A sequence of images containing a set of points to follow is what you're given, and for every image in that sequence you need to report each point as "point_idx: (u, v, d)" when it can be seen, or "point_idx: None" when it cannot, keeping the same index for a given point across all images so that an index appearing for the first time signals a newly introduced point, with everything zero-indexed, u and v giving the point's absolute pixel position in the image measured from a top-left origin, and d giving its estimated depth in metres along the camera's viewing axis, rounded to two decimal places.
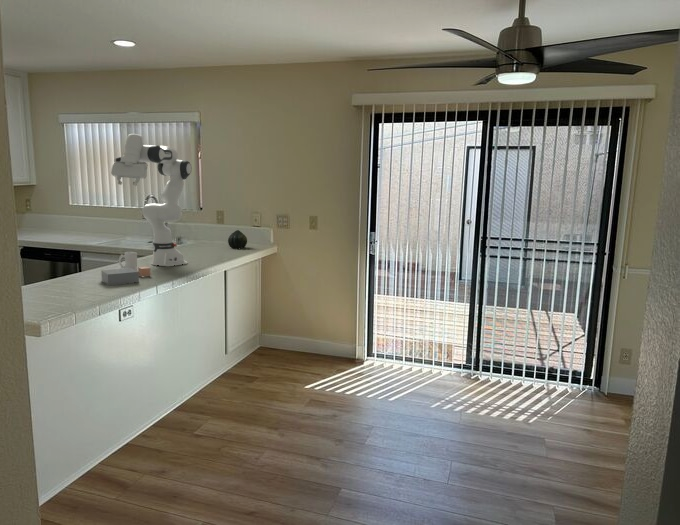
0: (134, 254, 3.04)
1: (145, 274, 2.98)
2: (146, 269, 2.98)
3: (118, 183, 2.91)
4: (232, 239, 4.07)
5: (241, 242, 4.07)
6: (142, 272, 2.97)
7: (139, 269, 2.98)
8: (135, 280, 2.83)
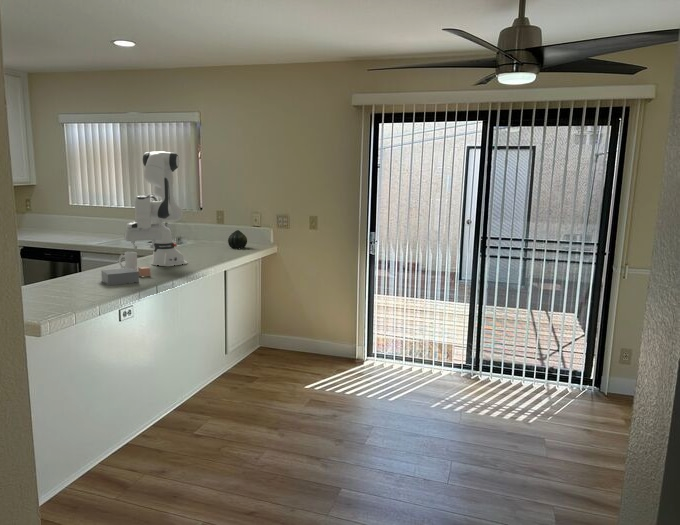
0: (134, 254, 3.04)
1: (145, 274, 2.98)
2: (146, 269, 2.98)
3: (135, 248, 2.93)
4: (232, 239, 4.07)
5: (241, 242, 4.07)
6: (142, 272, 2.97)
7: (139, 269, 2.98)
8: (135, 280, 2.83)
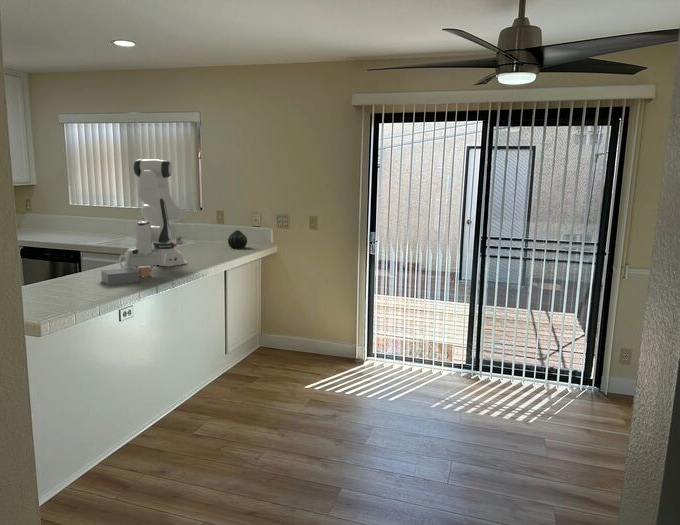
0: None
1: (145, 274, 2.98)
2: (146, 269, 2.98)
3: None
4: (232, 239, 4.07)
5: (241, 242, 4.07)
6: (142, 272, 2.97)
7: (139, 269, 2.98)
8: (135, 280, 2.83)
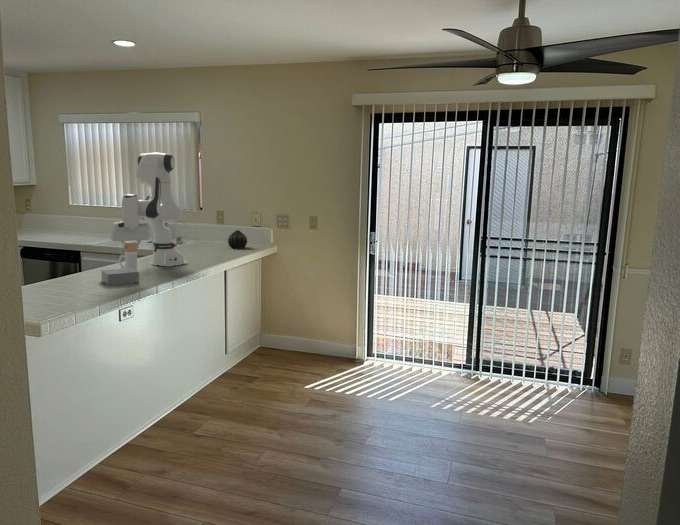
0: (134, 254, 3.04)
1: (131, 249, 2.85)
2: (133, 244, 2.85)
3: (124, 248, 2.84)
4: (232, 239, 4.07)
5: (241, 242, 4.07)
6: (129, 247, 2.84)
7: (125, 244, 2.86)
8: (135, 280, 2.83)
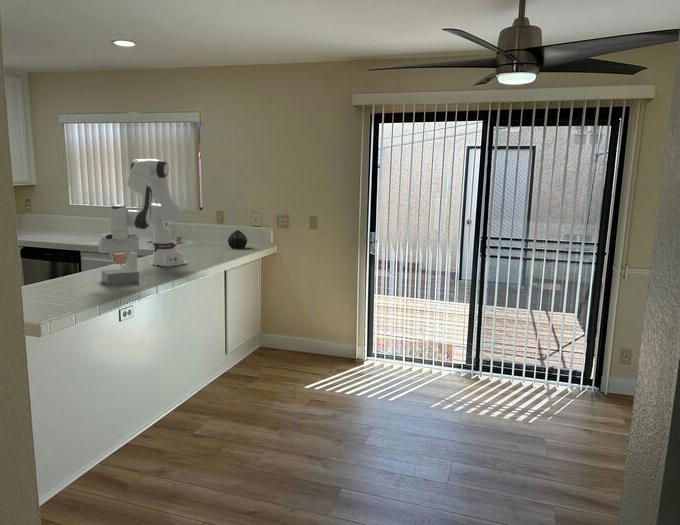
0: (134, 254, 3.04)
1: (120, 261, 2.79)
2: (121, 255, 2.79)
3: (113, 260, 2.78)
4: (232, 239, 4.07)
5: (241, 242, 4.07)
6: (117, 259, 2.78)
7: (114, 255, 2.80)
8: (135, 280, 2.83)
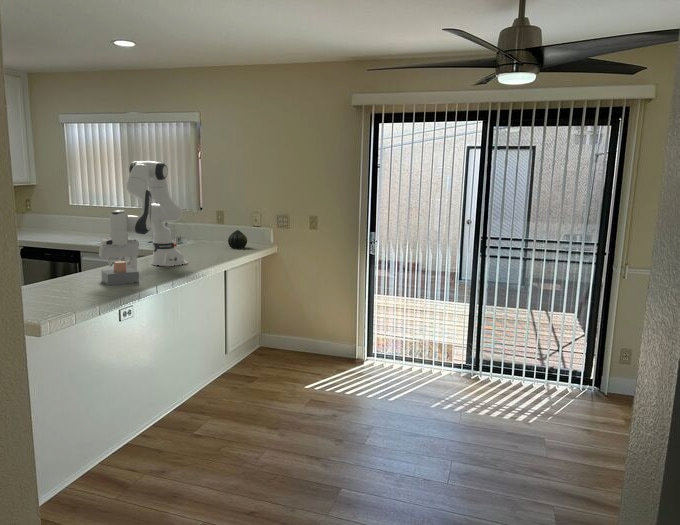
0: None
1: (121, 269, 2.80)
2: (122, 263, 2.80)
3: (110, 265, 2.78)
4: (232, 239, 4.07)
5: (241, 242, 4.07)
6: (117, 267, 2.79)
7: (114, 263, 2.81)
8: (135, 280, 2.83)
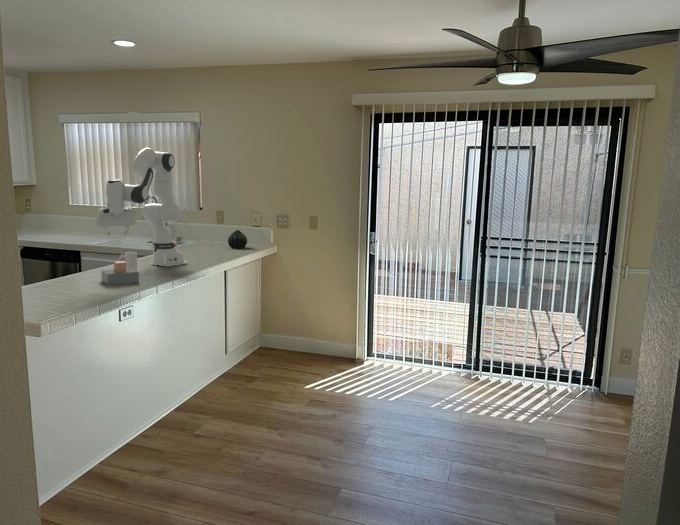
0: (134, 254, 3.04)
1: (121, 269, 2.80)
2: (122, 263, 2.80)
3: (108, 234, 2.82)
4: (232, 239, 4.07)
5: (241, 242, 4.07)
6: (117, 267, 2.79)
7: (114, 263, 2.81)
8: (135, 280, 2.83)
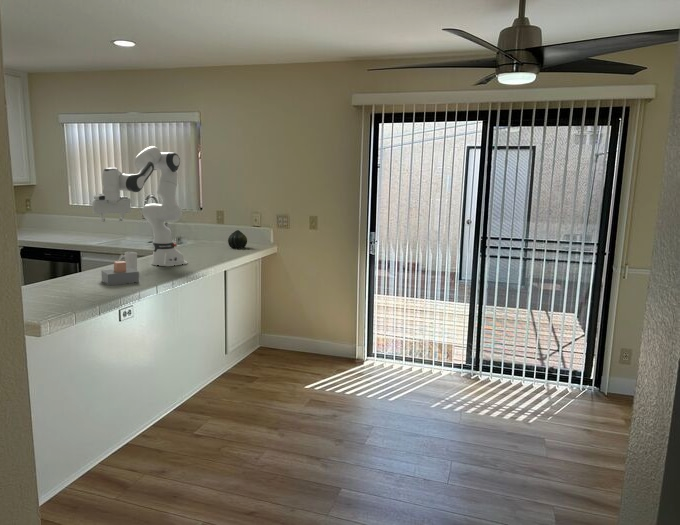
0: (134, 254, 3.04)
1: (121, 269, 2.80)
2: (122, 263, 2.80)
3: (103, 221, 2.90)
4: (232, 239, 4.07)
5: (241, 242, 4.07)
6: (117, 267, 2.79)
7: (114, 263, 2.81)
8: (135, 280, 2.83)
